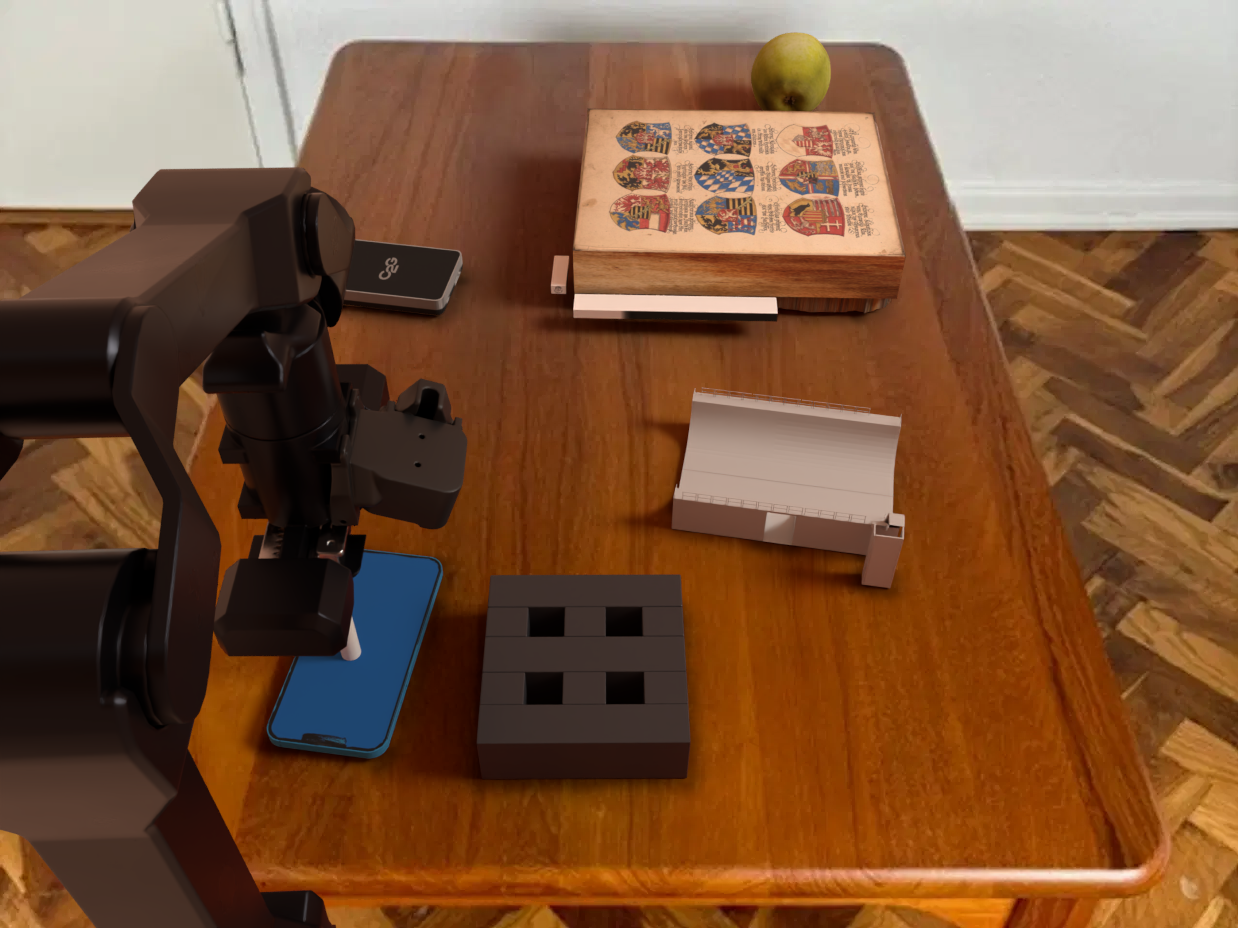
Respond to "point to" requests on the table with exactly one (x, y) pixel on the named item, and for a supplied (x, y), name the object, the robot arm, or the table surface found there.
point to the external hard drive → (402, 277)
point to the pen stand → (584, 678)
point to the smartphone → (361, 664)
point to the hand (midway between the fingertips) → (335, 594)
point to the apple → (791, 73)
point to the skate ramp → (793, 478)
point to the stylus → (351, 645)
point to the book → (731, 216)
